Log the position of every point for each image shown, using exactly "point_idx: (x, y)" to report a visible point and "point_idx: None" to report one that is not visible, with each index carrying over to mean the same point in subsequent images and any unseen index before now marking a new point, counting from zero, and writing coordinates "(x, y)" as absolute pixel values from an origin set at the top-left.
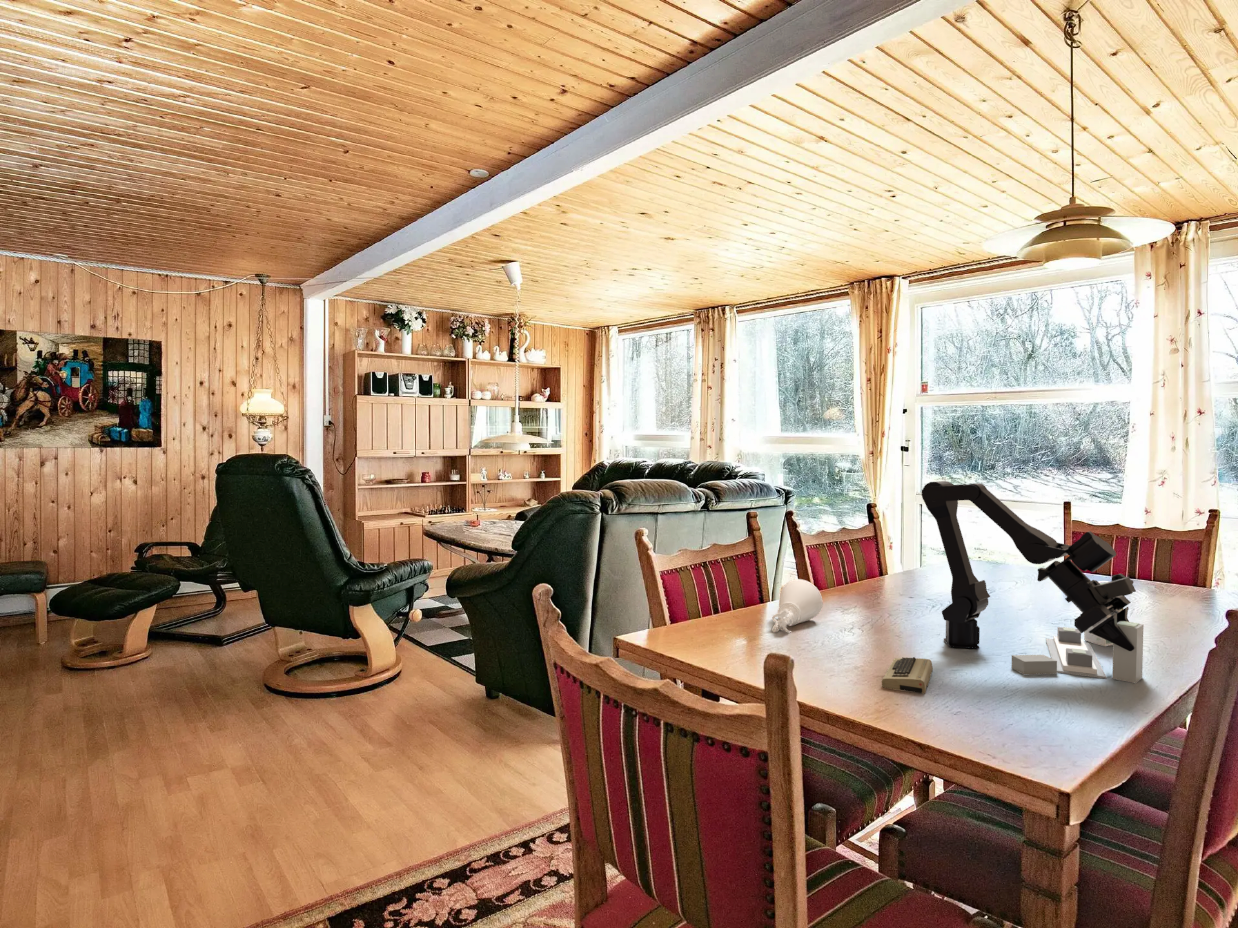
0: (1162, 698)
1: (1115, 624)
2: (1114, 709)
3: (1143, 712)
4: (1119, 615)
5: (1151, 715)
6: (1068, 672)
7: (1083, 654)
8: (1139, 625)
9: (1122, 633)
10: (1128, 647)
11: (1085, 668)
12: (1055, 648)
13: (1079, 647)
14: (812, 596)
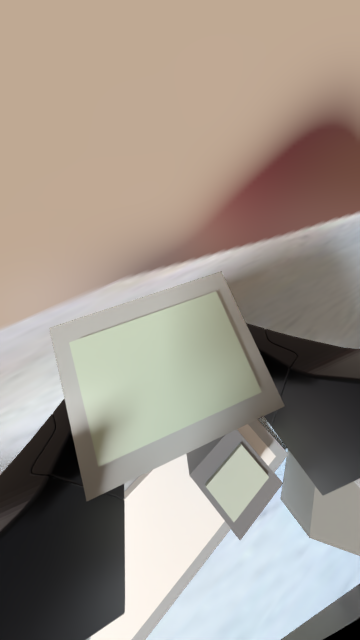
0: (222, 261)
1: (342, 355)
2: (338, 261)
3: (307, 239)
4: (11, 613)
5: (306, 229)
6: (266, 430)
7: (248, 446)
8: (112, 320)
9: (263, 331)
10: None
11: None
12: None
13: None
14: None
